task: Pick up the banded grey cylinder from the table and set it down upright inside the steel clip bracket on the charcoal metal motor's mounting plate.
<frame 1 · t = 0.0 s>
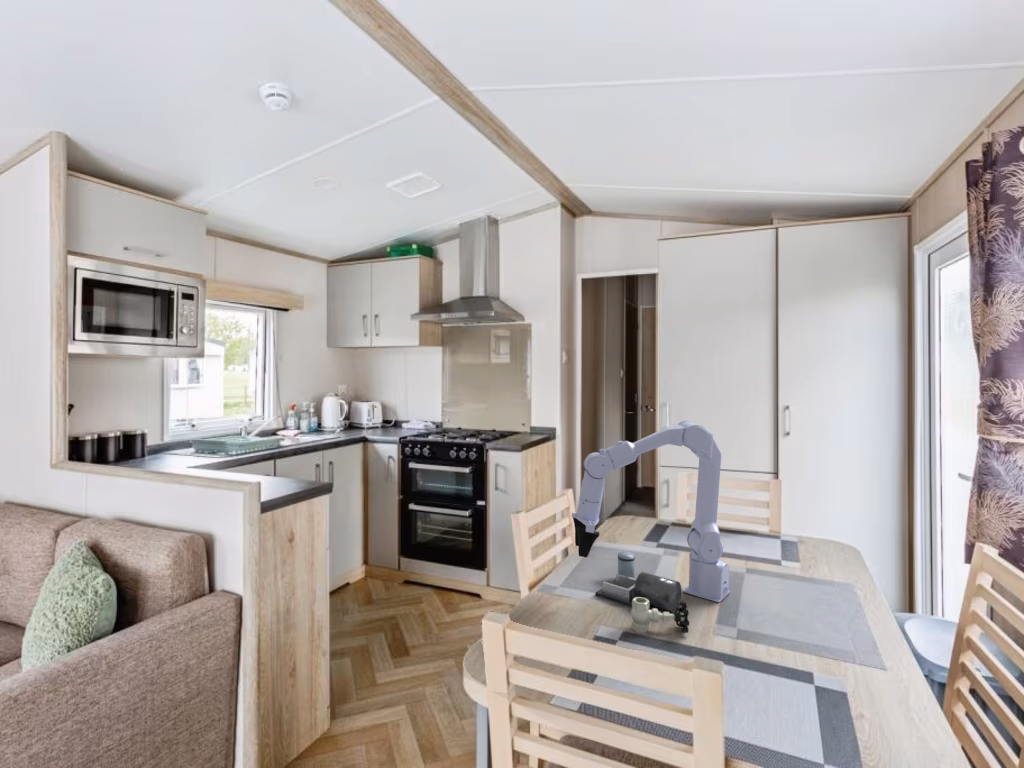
hand: (581, 551, 141), 11 cm above the table, tool pointing down, fingers open, 7 cm apart
valve: (658, 631, 122), on the table
banded grey cylinder: (626, 579, 150), on the table
motor: (622, 594, 140), on the table
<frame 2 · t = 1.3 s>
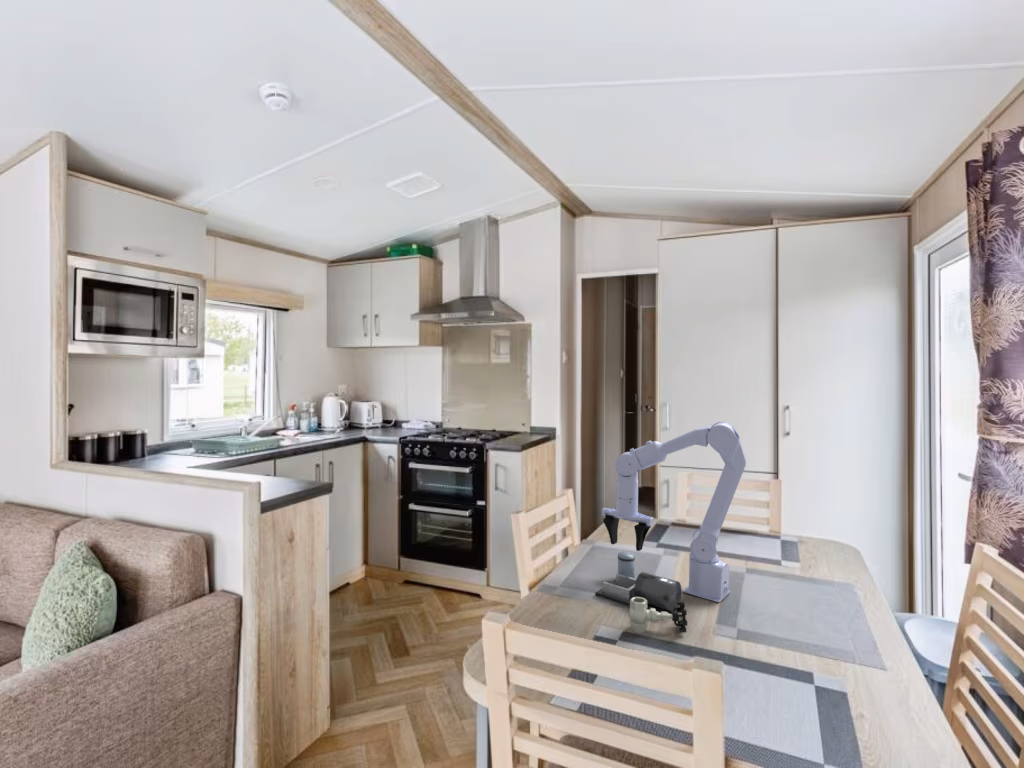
hand: (626, 546, 149), 9 cm above the table, tool pointing down, fingers open, 7 cm apart
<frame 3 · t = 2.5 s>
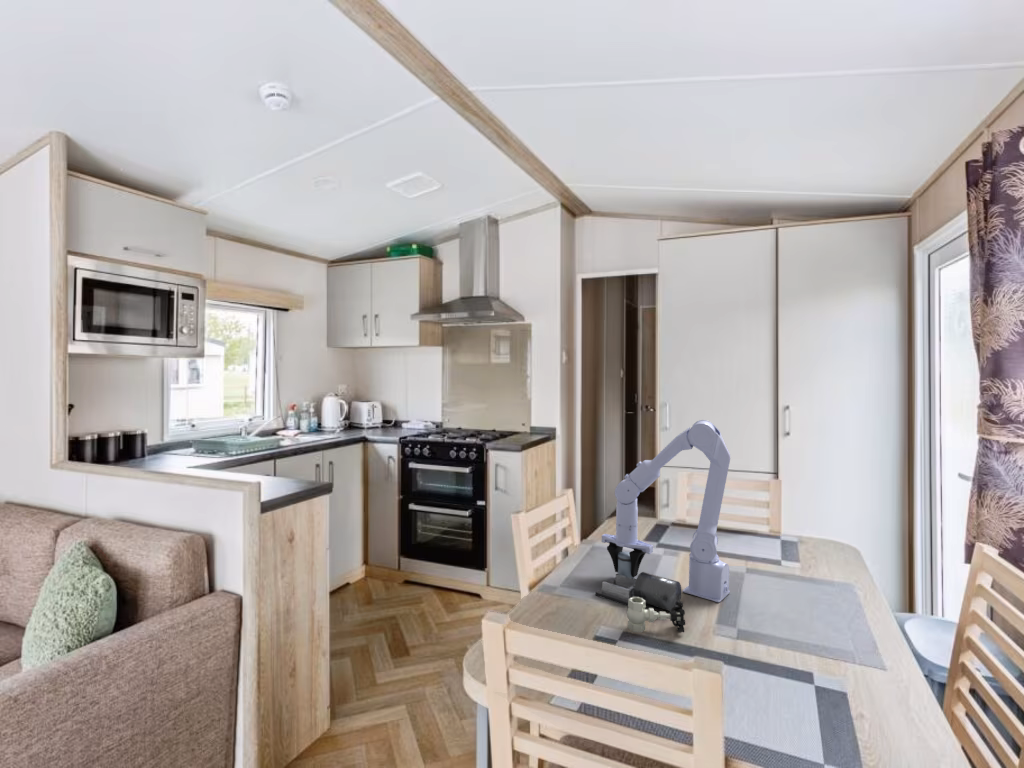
hand: (626, 573, 149), 2 cm above the table, tool pointing down, fingers closed on banded grey cylinder, 4 cm apart
banded grey cylinder: (626, 579, 150), on the table, touching gripper
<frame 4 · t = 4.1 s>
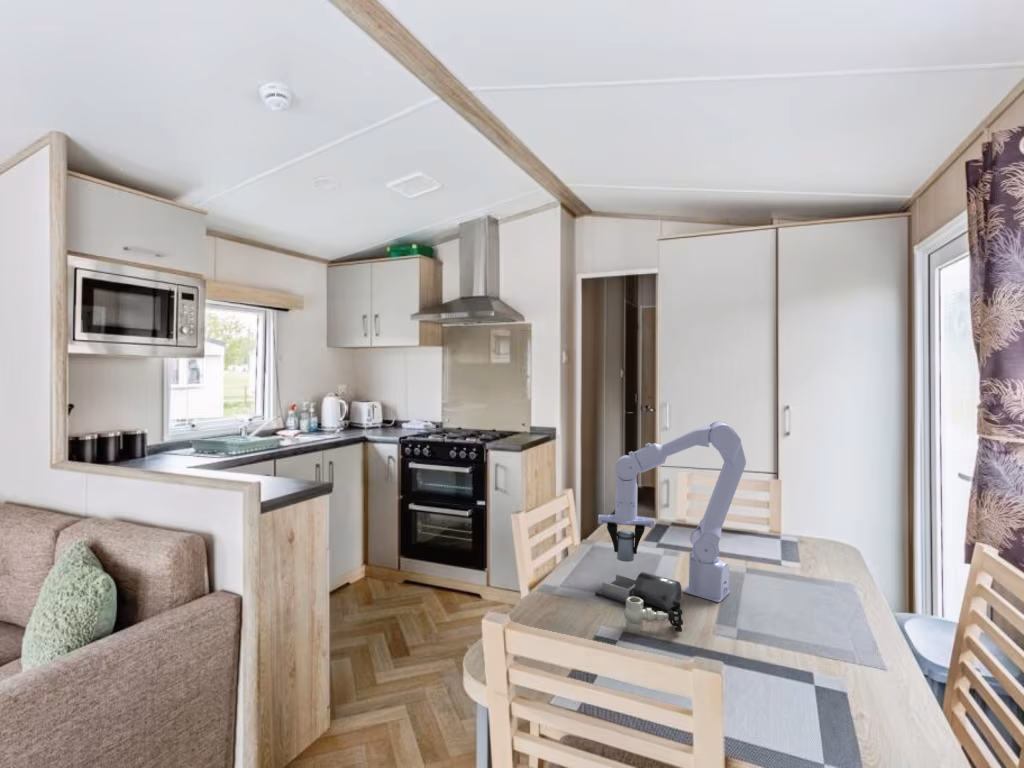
hand: (625, 551, 146), 9 cm above the table, tool pointing down, fingers closed on banded grey cylinder, 4 cm apart
banded grey cylinder: (625, 558, 146), point 7 cm above the table, touching gripper
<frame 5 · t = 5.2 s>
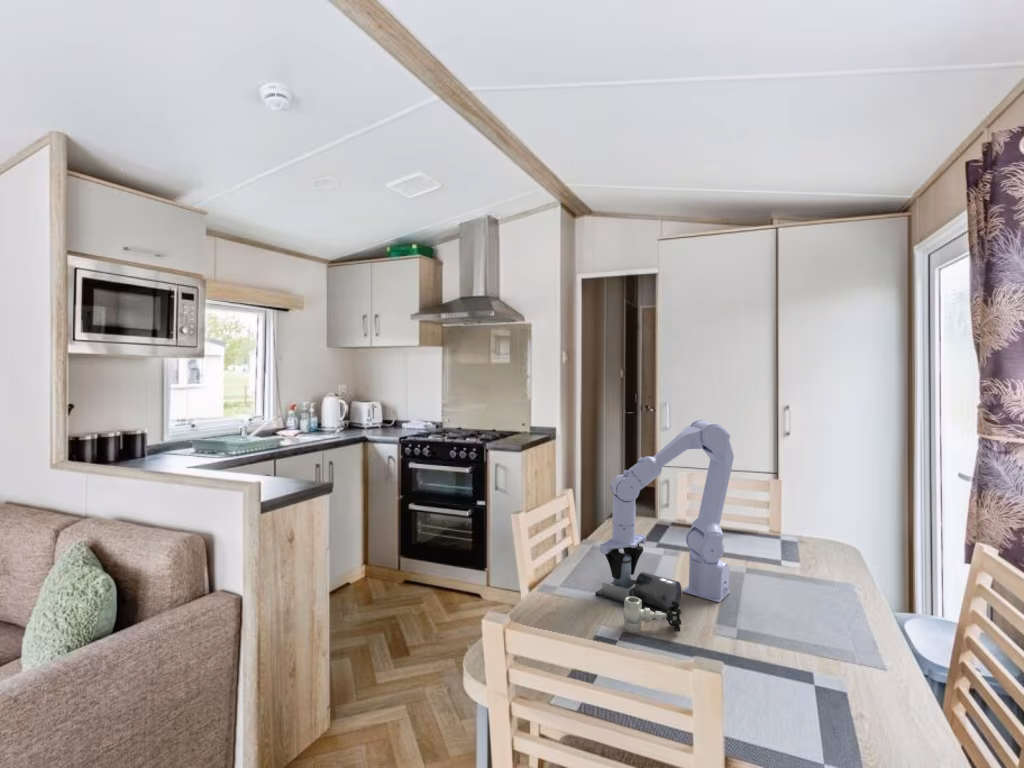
hand: (623, 575, 140), 5 cm above the table, tool pointing down, fingers closed on banded grey cylinder, 4 cm apart
banded grey cylinder: (622, 582, 140), point 3 cm above the table, touching gripper
when the fingers open (4 cm above the table, at t = 5.8 s): banded grey cylinder drops 2 cm, resting on motor.
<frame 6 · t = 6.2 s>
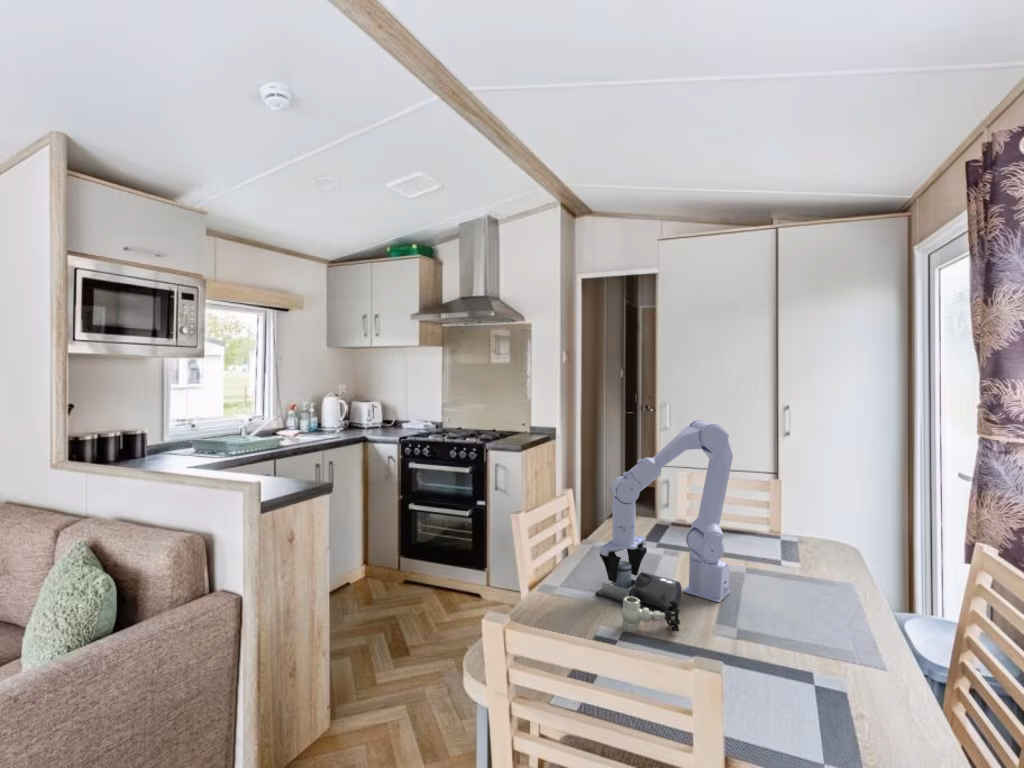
hand: (623, 577, 140), 4 cm above the table, tool pointing down, fingers open, 7 cm apart
banded grey cylinder: (622, 590, 140), point 1 cm above the table, touching motor
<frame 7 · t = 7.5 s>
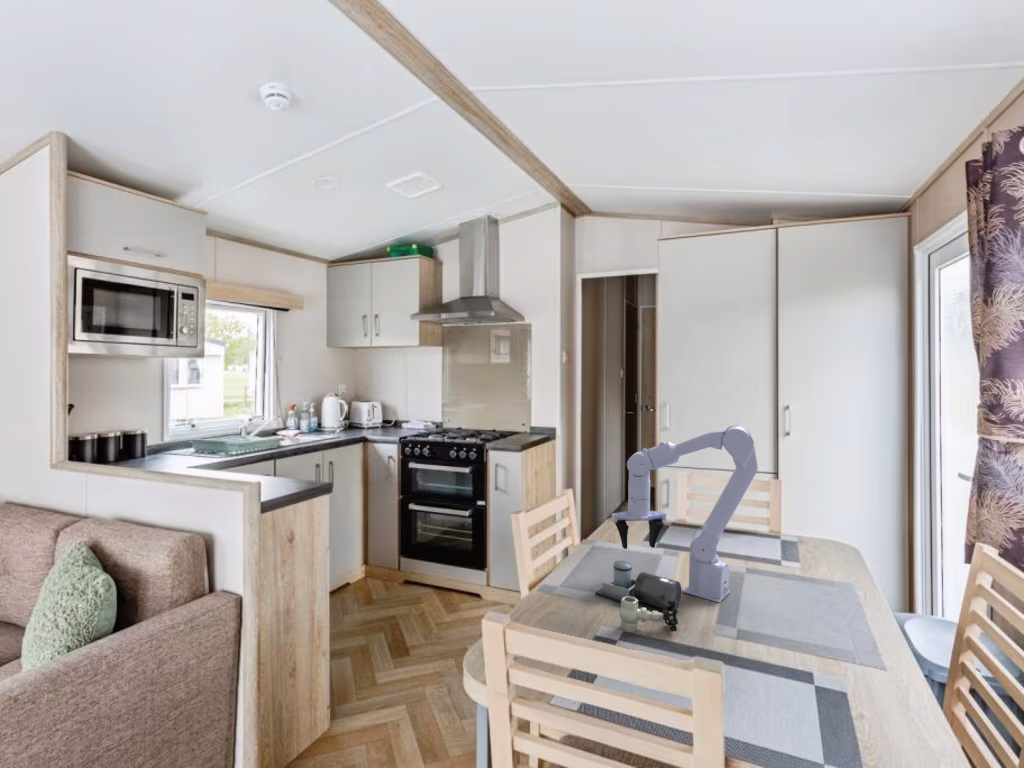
hand: (638, 547, 148), 9 cm above the table, tool pointing down, fingers open, 7 cm apart
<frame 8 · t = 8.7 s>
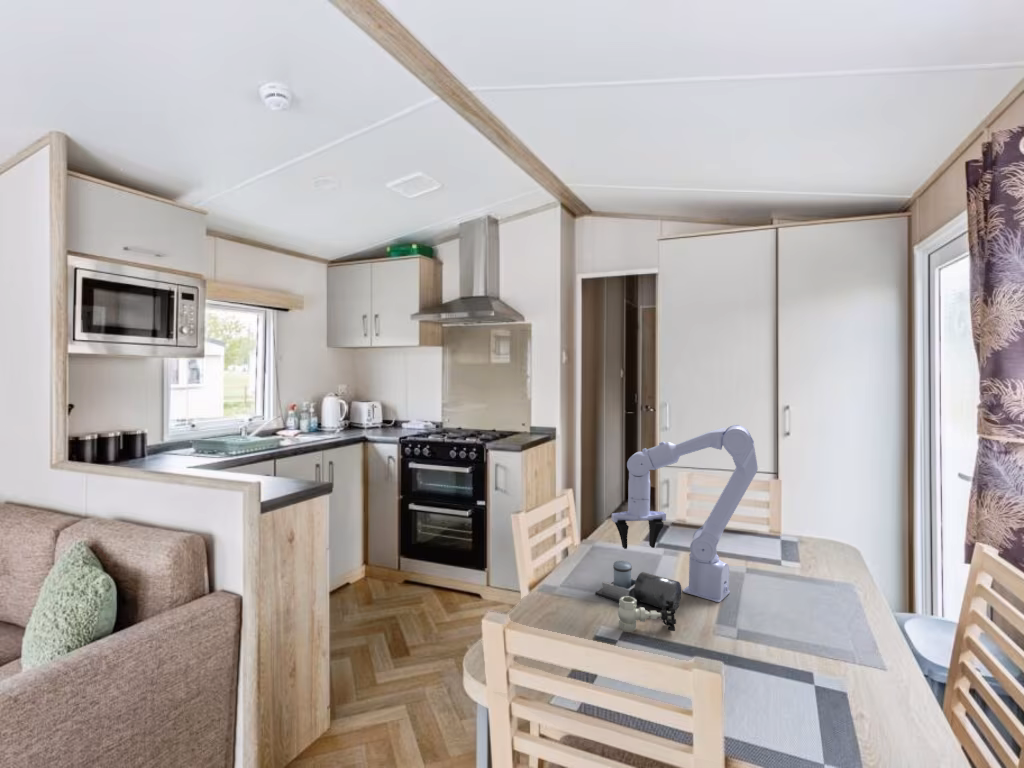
hand: (638, 547, 148), 9 cm above the table, tool pointing down, fingers open, 7 cm apart
at the end: banded grey cylinder 0.3 cm off-centre on the motor, point 0.9 cm above the motor's base; banded grey cylinder tilted 2°; the gripper is holding nothing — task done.
